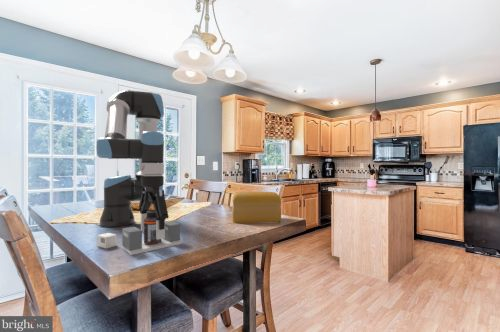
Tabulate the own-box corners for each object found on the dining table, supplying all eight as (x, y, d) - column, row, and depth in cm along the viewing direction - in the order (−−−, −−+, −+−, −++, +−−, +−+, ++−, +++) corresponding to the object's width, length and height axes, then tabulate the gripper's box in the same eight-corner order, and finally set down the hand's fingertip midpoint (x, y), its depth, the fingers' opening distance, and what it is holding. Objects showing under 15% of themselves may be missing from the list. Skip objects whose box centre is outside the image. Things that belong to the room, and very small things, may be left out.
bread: (232, 223, 130) (233, 193, 130) (232, 218, 143) (232, 190, 142) (281, 222, 132) (281, 193, 132) (276, 217, 145) (276, 190, 145)
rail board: (120, 247, 91) (120, 227, 91) (169, 237, 103) (169, 220, 103) (130, 255, 84) (130, 233, 84) (182, 243, 96) (182, 224, 96)
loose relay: (97, 246, 93) (97, 235, 93) (108, 243, 96) (108, 232, 96) (105, 248, 90) (105, 237, 90) (116, 245, 94) (116, 234, 94)
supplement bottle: (143, 241, 95) (143, 210, 95) (160, 239, 98) (160, 209, 98) (143, 246, 90) (144, 213, 90) (162, 244, 92) (162, 212, 92)
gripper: (129, 174, 100) (129, 229, 100) (157, 177, 82) (156, 244, 82) (149, 173, 105) (148, 226, 105) (179, 176, 87) (178, 240, 87)
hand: (152, 234), depth 94 cm, fingers open, 13 cm apart
